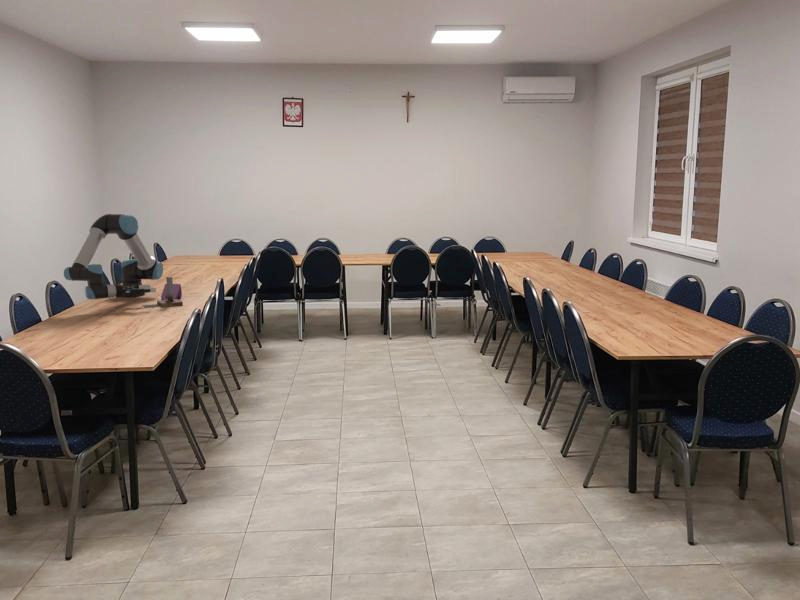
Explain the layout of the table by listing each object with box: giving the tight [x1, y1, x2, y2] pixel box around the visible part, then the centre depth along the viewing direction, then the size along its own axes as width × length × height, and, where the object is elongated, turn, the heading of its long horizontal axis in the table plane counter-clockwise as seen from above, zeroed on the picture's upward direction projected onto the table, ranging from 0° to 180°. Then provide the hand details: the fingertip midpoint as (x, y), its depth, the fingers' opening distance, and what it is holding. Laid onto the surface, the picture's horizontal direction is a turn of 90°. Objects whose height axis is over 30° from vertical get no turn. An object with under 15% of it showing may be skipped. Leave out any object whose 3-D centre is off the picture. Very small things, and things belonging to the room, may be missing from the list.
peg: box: [165, 276, 174, 302], centre depth 432 cm, size 3×3×17 cm
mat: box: [141, 303, 160, 309], centre depth 428 cm, size 10×8×1 cm
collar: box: [156, 299, 184, 308], centre depth 433 cm, size 12×12×2 cm
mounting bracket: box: [160, 283, 183, 300], centre depth 451 cm, size 9×8×18 cm
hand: (153, 288), depth 427 cm, fingers open, 13 cm apart
